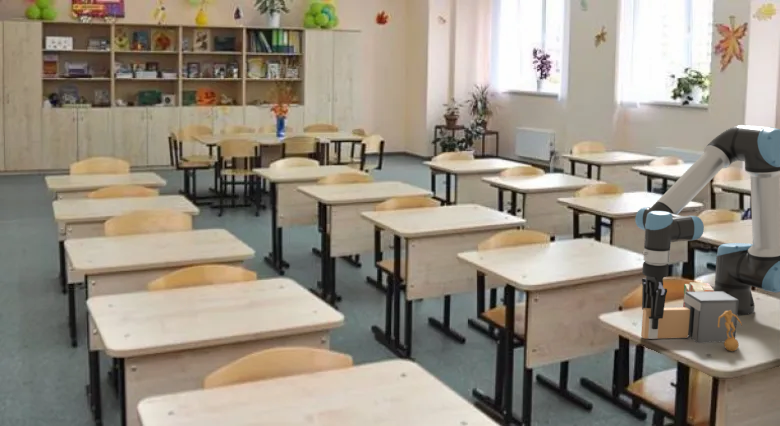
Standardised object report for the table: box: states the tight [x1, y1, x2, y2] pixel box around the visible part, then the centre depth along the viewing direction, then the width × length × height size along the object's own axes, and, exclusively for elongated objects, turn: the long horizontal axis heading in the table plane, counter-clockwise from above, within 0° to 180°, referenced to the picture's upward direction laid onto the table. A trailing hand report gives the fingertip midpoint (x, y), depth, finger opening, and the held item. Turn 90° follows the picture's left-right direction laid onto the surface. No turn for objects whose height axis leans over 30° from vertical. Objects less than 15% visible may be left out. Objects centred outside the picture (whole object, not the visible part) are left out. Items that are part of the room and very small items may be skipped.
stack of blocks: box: [682, 281, 714, 307], centre depth 280 cm, size 21×6×12 cm, turn 170°
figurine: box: [718, 310, 743, 352], centre depth 250 cm, size 8×6×12 cm
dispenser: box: [683, 291, 739, 344], centre depth 262 cm, size 12×10×13 cm
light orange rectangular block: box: [640, 306, 690, 339], centre depth 260 cm, size 14×2×9 cm, turn 96°
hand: (650, 336), depth 261 cm, fingers closed on light orange rectangular block, 2 cm apart
